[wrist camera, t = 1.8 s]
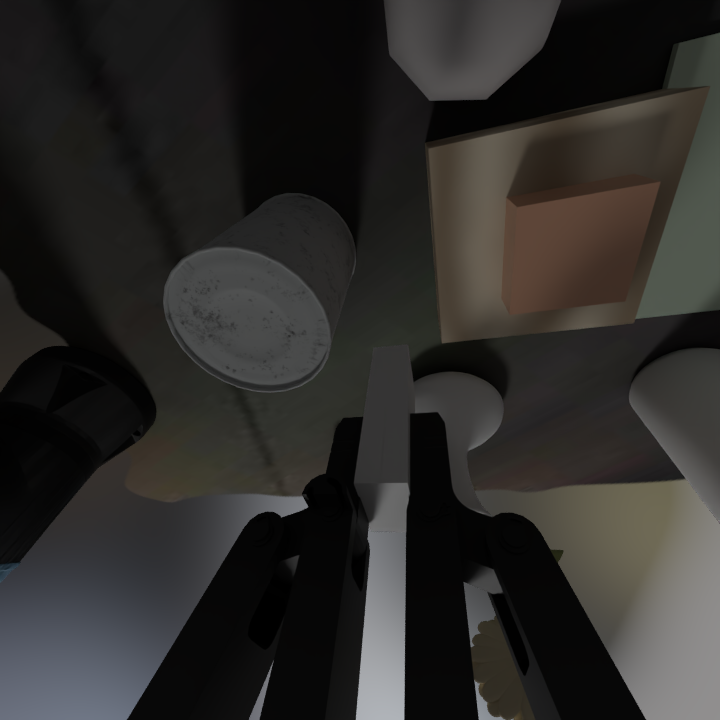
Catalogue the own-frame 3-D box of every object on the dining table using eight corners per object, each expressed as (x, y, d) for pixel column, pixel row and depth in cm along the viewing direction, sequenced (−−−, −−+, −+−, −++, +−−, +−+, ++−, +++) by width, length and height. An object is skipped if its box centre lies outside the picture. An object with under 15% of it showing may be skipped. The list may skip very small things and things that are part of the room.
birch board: (438, 318, 31) (442, 343, 28) (425, 142, 23) (428, 148, 20) (607, 298, 28) (633, 323, 25) (662, 88, 20) (710, 86, 17)
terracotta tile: (501, 298, 25) (509, 314, 23) (506, 197, 21) (516, 207, 19) (606, 284, 23) (625, 301, 21) (634, 173, 19) (660, 181, 17)
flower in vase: (393, 432, 41) (382, 734, 21) (396, 359, 34) (386, 704, 15) (502, 439, 40) (598, 767, 20) (529, 365, 33) (715, 752, 13)
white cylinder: (290, 163, 24) (214, 201, 15) (379, 255, 28) (366, 336, 18) (225, 251, 29) (136, 325, 19) (309, 321, 33) (269, 413, 23)
